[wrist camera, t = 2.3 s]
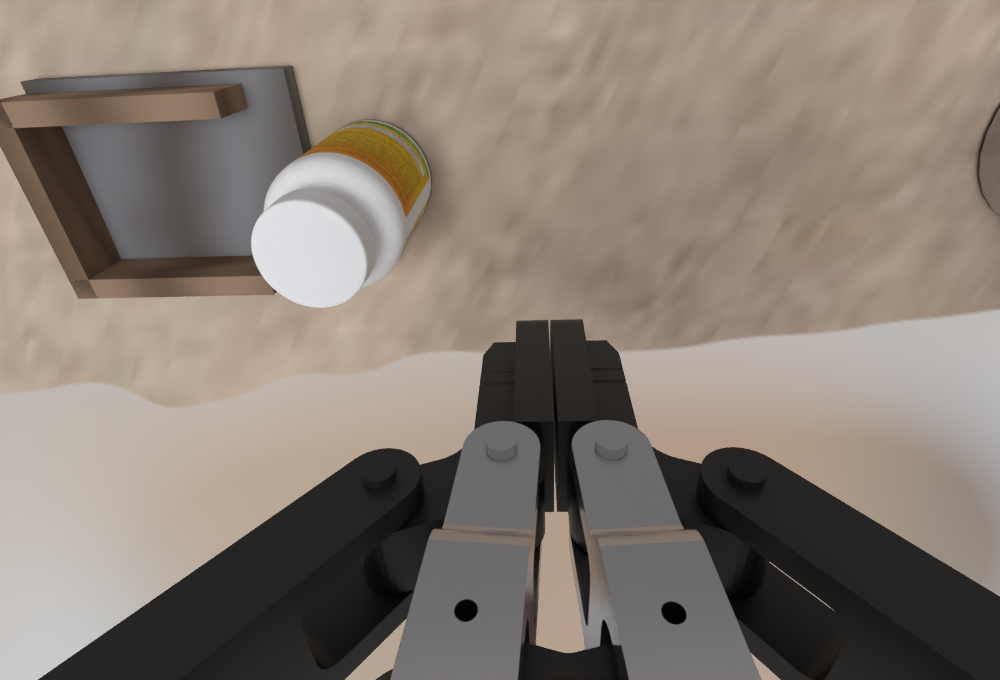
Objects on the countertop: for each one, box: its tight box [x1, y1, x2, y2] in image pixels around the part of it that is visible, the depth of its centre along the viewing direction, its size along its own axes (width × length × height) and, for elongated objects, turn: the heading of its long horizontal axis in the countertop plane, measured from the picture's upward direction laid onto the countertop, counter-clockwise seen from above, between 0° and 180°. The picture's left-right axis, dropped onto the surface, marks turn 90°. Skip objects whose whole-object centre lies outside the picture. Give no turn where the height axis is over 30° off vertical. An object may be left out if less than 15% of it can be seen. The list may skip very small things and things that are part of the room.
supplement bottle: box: [251, 120, 431, 308], centre depth 23 cm, size 5×5×10 cm
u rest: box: [0, 66, 311, 299], centre depth 26 cm, size 12×10×4 cm
